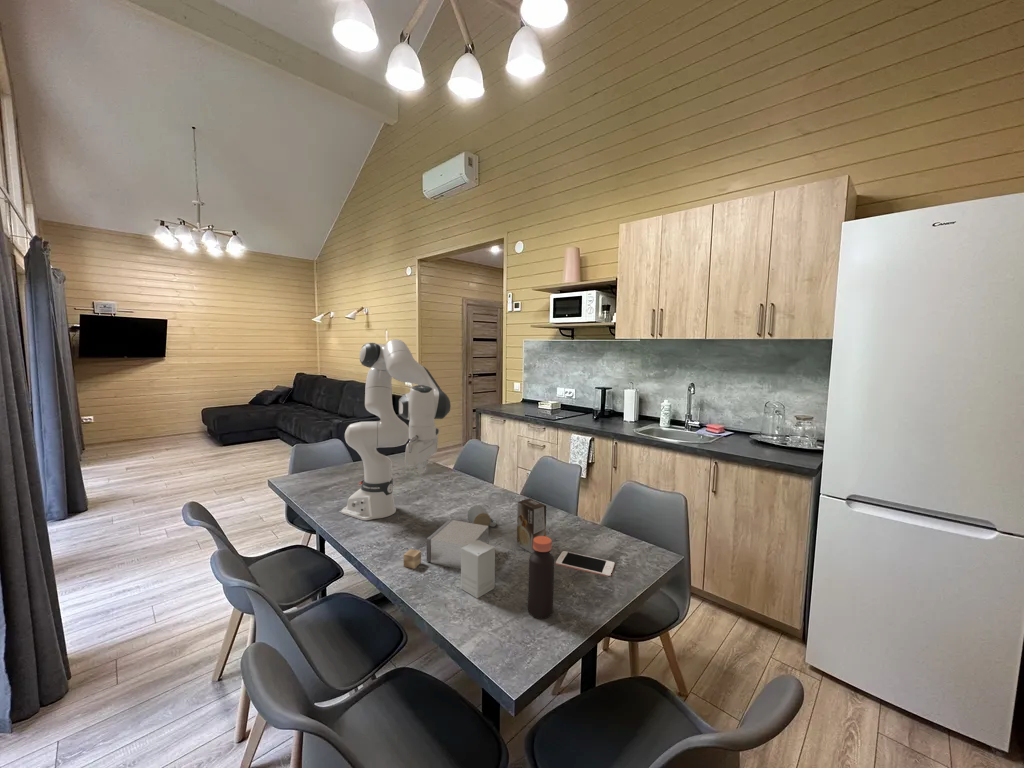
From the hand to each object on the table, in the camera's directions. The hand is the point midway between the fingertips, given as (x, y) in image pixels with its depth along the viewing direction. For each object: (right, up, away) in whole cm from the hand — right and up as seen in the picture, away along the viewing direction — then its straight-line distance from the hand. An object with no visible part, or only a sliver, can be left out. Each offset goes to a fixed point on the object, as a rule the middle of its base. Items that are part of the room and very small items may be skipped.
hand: (421, 472), depth 143 cm
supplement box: (+21, -30, -21) cm, 42 cm away
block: (-1, -28, -9) cm, 29 cm away
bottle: (+39, -31, -31) cm, 59 cm away
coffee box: (+38, -28, +5) cm, 47 cm away
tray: (+12, -27, -2) cm, 30 cm away
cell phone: (+55, -30, -6) cm, 63 cm away
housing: (+14, -28, -2) cm, 31 cm away
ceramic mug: (+19, -26, +21) cm, 39 cm away
